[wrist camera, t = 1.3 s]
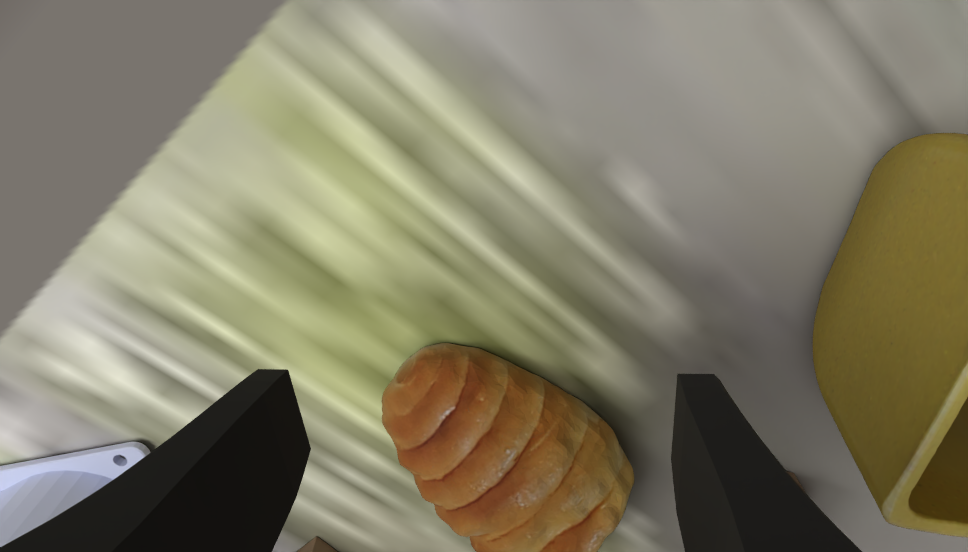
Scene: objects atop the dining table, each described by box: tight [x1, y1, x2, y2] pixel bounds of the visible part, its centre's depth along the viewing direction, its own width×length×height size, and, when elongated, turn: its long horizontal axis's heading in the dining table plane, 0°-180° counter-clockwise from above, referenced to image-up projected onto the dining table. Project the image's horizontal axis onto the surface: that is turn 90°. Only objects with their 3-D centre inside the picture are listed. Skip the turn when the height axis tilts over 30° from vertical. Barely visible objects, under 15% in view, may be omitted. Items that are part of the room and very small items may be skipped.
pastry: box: [382, 343, 634, 552], centre depth 24 cm, size 9×7×4 cm
